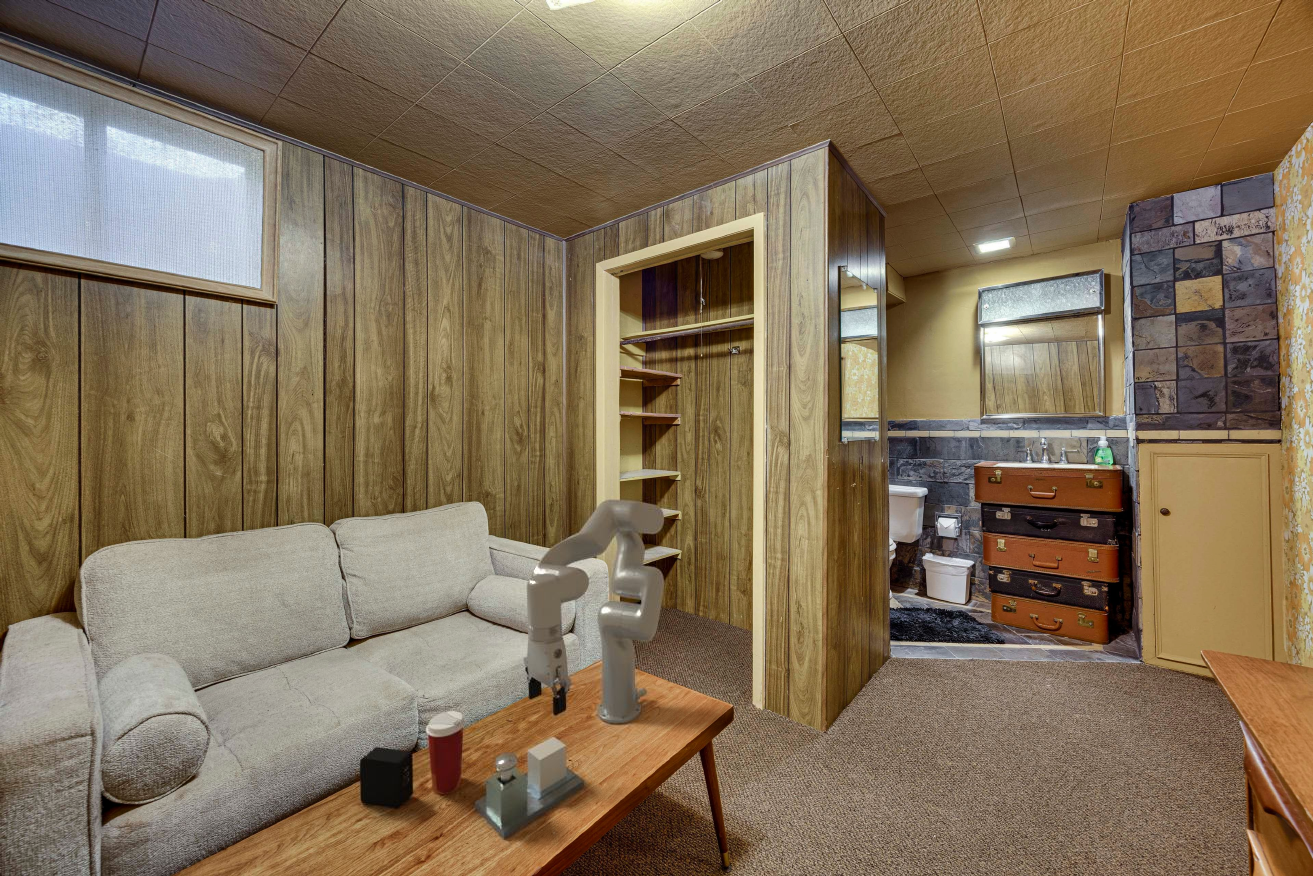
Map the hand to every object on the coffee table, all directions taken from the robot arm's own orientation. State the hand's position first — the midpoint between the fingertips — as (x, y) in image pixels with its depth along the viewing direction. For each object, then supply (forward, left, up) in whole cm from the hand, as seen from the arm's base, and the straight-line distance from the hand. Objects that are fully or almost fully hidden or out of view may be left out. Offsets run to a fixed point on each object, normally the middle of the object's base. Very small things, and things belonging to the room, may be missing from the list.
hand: (547, 704), depth 114 cm
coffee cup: (+16, -17, -19) cm, 30 cm away
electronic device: (+27, -22, -19) cm, 40 cm away
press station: (+5, +1, -18) cm, 19 cm away
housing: (0, 0, -17) cm, 17 cm away
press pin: (+11, +2, -12) cm, 17 cm away
